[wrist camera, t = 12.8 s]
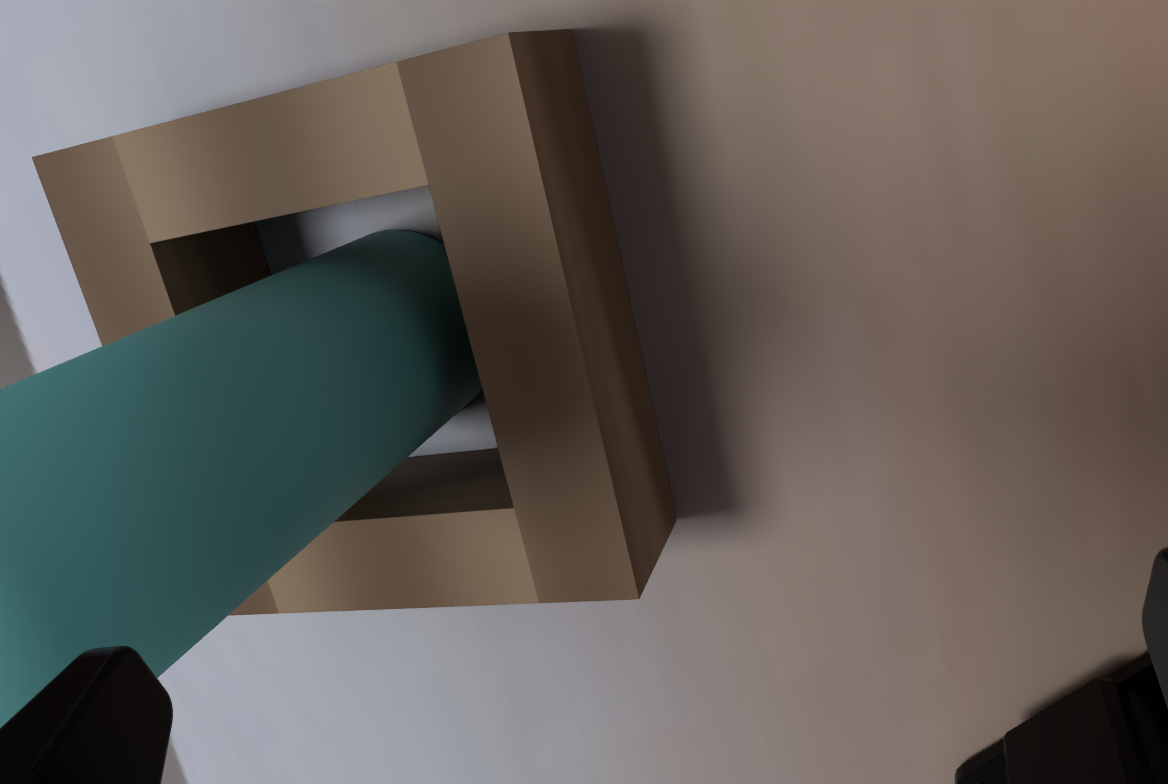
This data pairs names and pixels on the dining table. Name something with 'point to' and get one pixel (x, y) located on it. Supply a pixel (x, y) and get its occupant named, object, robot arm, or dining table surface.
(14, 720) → the robot arm
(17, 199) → the dining table surface
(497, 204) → the block
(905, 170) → the dining table surface
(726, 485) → the dining table surface
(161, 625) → the peg
